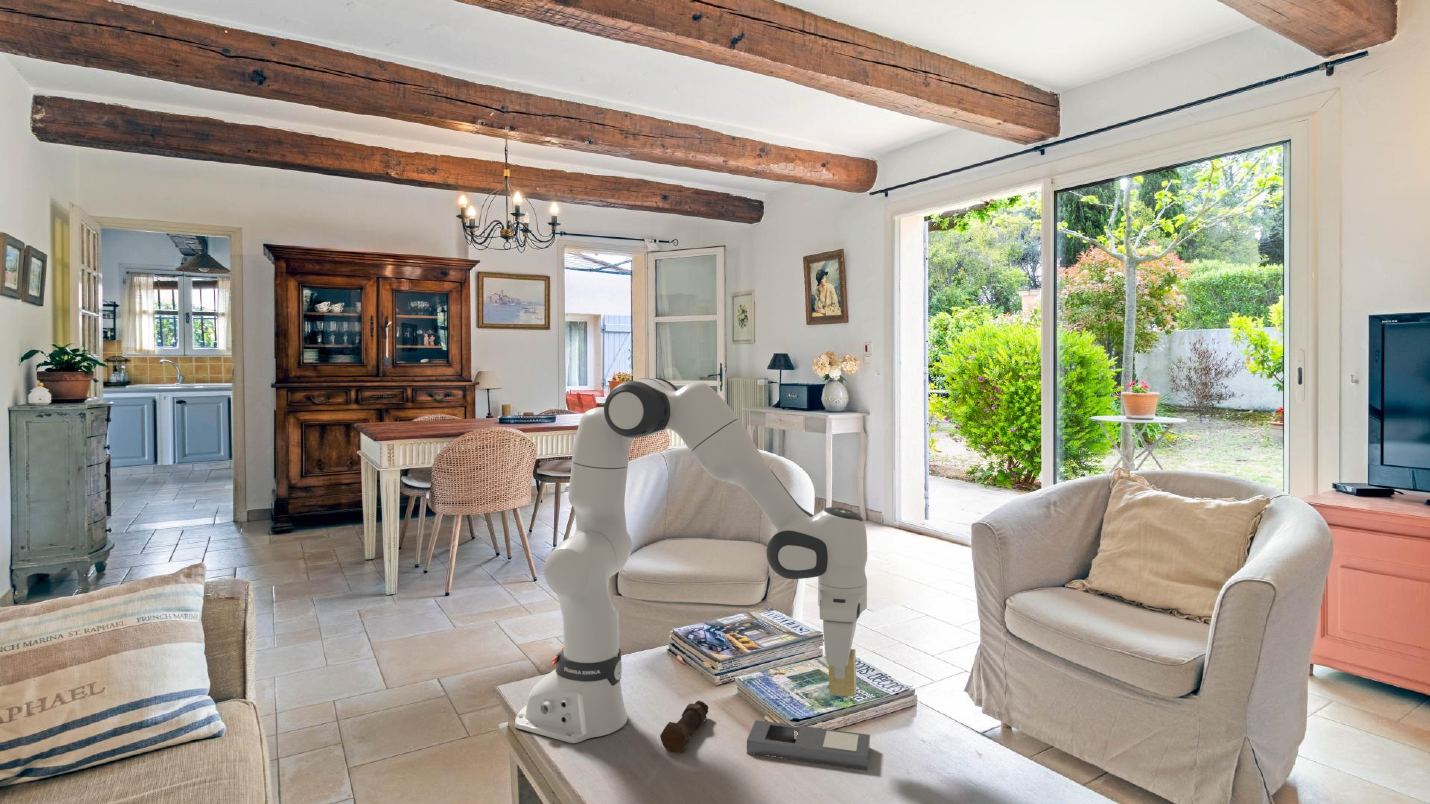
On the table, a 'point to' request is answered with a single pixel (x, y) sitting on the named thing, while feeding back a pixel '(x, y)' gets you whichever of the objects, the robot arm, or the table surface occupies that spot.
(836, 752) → the plate
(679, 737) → the bolt
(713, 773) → the table surface
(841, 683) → the tan block
